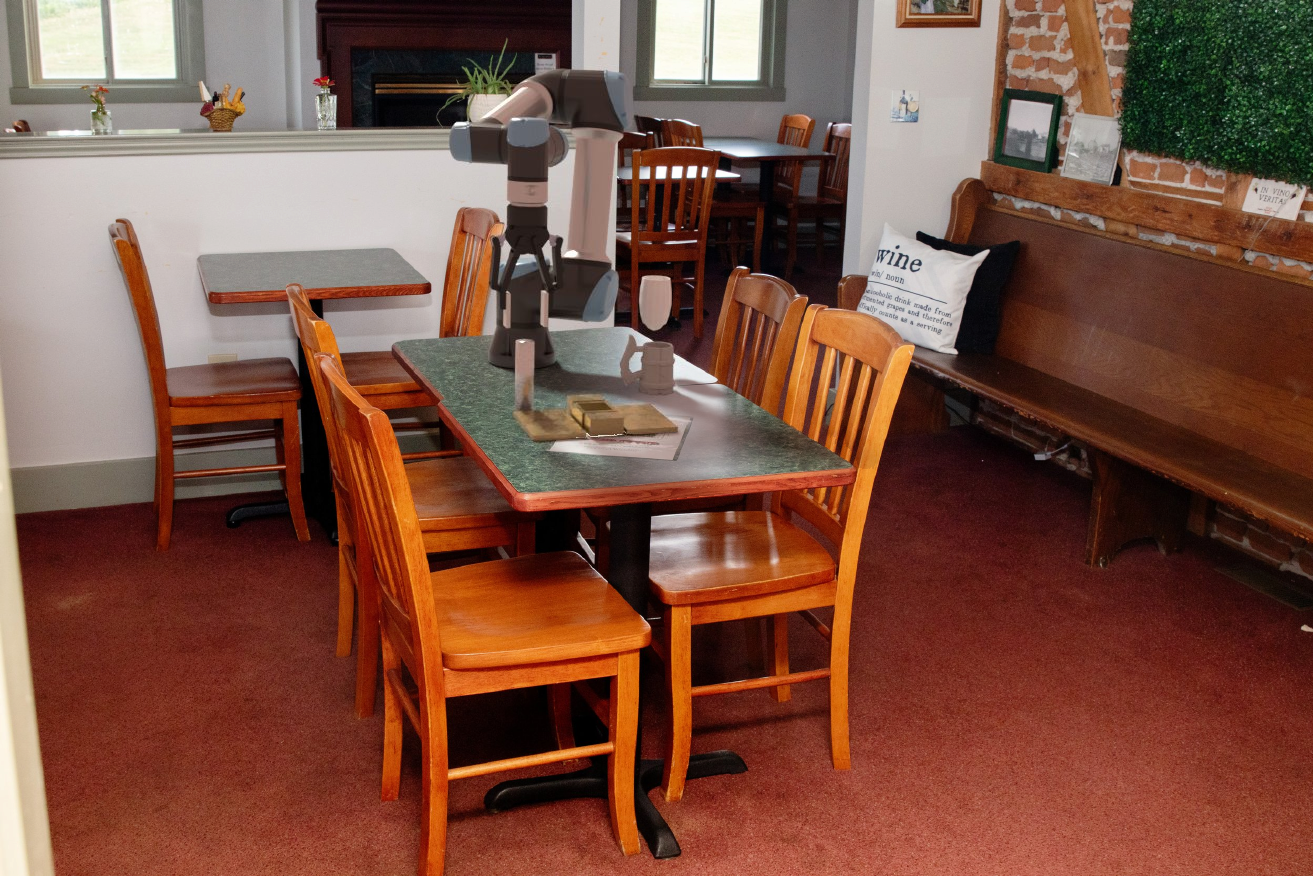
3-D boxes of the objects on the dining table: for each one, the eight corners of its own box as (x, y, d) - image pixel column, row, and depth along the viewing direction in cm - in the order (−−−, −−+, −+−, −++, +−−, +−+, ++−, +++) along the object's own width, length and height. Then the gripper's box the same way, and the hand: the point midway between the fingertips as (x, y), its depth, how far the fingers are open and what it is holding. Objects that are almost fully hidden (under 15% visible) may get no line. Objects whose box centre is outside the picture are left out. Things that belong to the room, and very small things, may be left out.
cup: (670, 367, 281) (675, 276, 275) (665, 374, 274) (669, 281, 268) (639, 364, 282) (643, 274, 276) (633, 371, 275) (637, 279, 269)
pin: (512, 409, 242) (513, 339, 238) (530, 408, 243) (532, 338, 239) (517, 414, 239) (518, 343, 234) (535, 413, 240) (536, 342, 236)
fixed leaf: (512, 416, 237) (513, 398, 236) (599, 412, 243) (600, 394, 242) (532, 441, 223) (533, 422, 222) (624, 435, 228) (625, 417, 227)
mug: (678, 395, 258) (681, 338, 254) (622, 395, 255) (624, 338, 252) (670, 385, 265) (672, 330, 262) (615, 386, 262) (617, 330, 259)
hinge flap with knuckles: (566, 412, 241) (567, 395, 240) (650, 408, 246) (650, 391, 245) (590, 436, 226) (590, 418, 225) (677, 431, 232) (678, 413, 231)
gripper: (479, 205, 222) (478, 331, 229) (583, 206, 229) (580, 328, 236) (471, 200, 229) (470, 323, 236) (572, 201, 236) (569, 320, 242)
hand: (525, 325), depth 236 cm, fingers open, 7 cm apart
